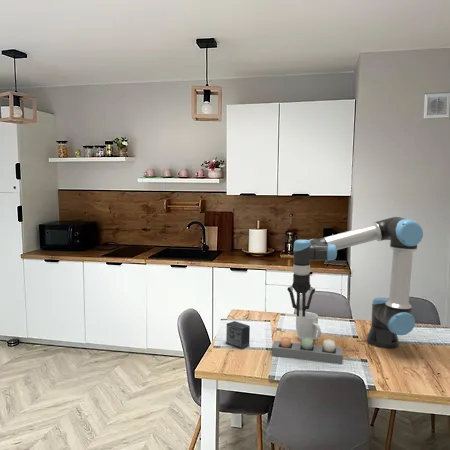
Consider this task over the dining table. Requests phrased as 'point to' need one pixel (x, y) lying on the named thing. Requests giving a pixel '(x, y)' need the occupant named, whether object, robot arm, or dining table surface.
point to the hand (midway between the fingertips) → (300, 323)
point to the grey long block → (307, 353)
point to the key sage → (307, 343)
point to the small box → (238, 334)
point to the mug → (308, 326)
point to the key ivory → (329, 345)
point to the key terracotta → (285, 342)
